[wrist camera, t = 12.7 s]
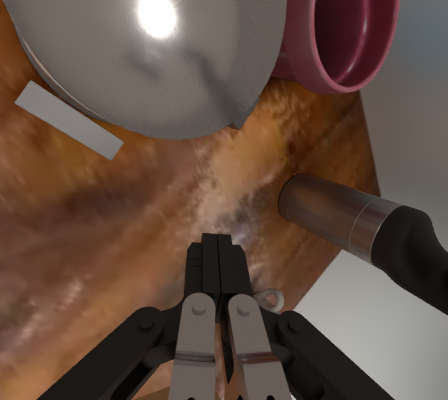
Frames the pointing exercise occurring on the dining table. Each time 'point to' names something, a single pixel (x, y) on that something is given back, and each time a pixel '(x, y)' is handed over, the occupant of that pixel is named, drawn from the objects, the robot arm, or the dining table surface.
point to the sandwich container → (164, 395)
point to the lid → (157, 57)
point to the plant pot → (335, 43)
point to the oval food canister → (70, 118)
